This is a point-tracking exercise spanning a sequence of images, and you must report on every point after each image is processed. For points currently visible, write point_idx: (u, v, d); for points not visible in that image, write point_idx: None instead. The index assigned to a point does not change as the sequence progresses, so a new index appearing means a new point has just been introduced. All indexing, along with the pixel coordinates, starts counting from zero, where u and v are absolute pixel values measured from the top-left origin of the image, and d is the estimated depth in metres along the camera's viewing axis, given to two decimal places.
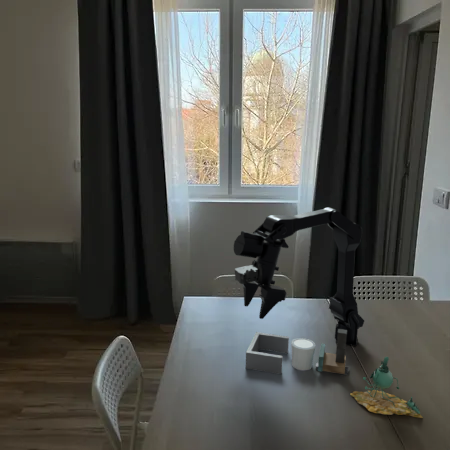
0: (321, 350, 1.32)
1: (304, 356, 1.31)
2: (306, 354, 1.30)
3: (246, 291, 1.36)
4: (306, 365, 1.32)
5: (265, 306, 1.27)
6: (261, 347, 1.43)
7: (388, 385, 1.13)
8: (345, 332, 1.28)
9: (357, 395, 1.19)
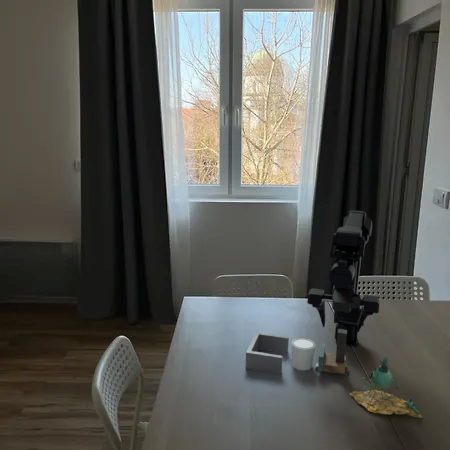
0: (321, 350, 1.32)
1: (304, 356, 1.31)
2: (306, 354, 1.30)
3: (323, 313, 1.28)
4: (306, 365, 1.32)
5: None
6: (261, 347, 1.43)
7: (387, 385, 1.13)
8: (345, 332, 1.28)
9: (356, 395, 1.20)
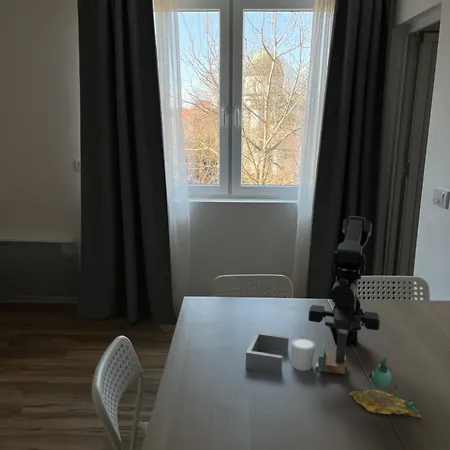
0: (321, 350, 1.32)
1: (304, 356, 1.31)
2: (306, 354, 1.30)
3: (336, 331, 1.29)
4: (306, 365, 1.32)
5: None
6: (261, 347, 1.43)
7: (387, 384, 1.13)
8: (345, 332, 1.28)
9: (356, 395, 1.20)
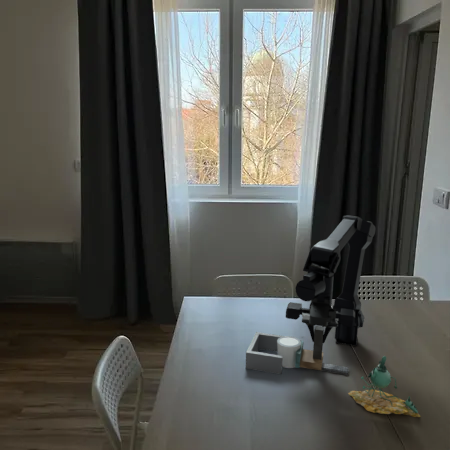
0: None
1: (290, 354, 1.31)
2: (292, 351, 1.31)
3: (313, 328, 1.30)
4: (292, 363, 1.33)
5: None
6: (261, 347, 1.43)
7: (386, 384, 1.13)
8: (322, 329, 1.30)
9: (355, 394, 1.20)
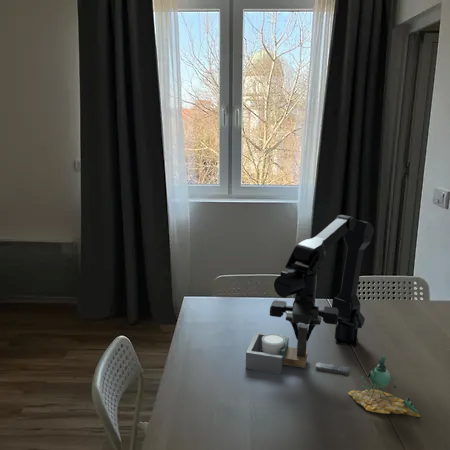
0: None
1: (274, 351, 1.33)
2: (276, 349, 1.33)
3: (297, 326, 1.31)
4: None
5: None
6: (261, 347, 1.43)
7: (385, 384, 1.13)
8: (305, 327, 1.31)
9: (355, 394, 1.20)
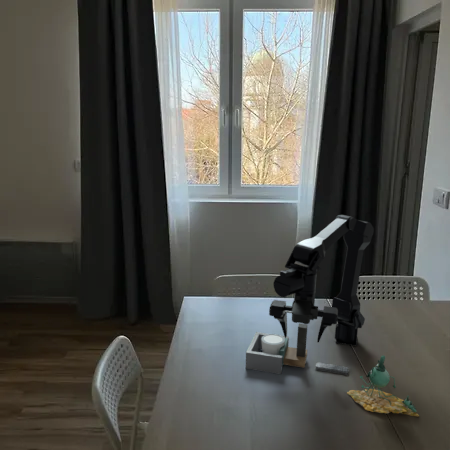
0: None
1: (274, 351, 1.33)
2: (276, 349, 1.33)
3: (285, 324, 1.32)
4: None
5: None
6: (261, 347, 1.43)
7: (385, 384, 1.13)
8: (305, 326, 1.31)
9: (354, 394, 1.20)
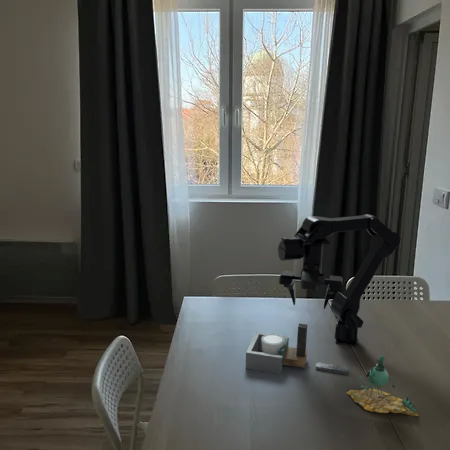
0: None
1: (274, 351, 1.33)
2: (276, 349, 1.33)
3: (294, 292, 1.43)
4: None
5: None
6: (261, 347, 1.43)
7: (384, 383, 1.14)
8: (305, 326, 1.31)
9: (353, 394, 1.20)
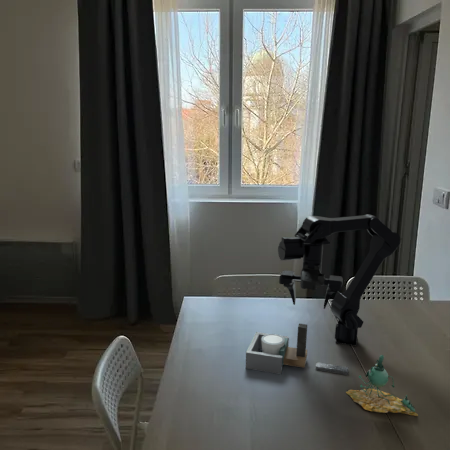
0: None
1: (274, 351, 1.33)
2: (276, 349, 1.33)
3: (294, 292, 1.43)
4: None
5: None
6: (261, 347, 1.43)
7: (383, 383, 1.14)
8: (305, 326, 1.31)
9: (353, 393, 1.20)
